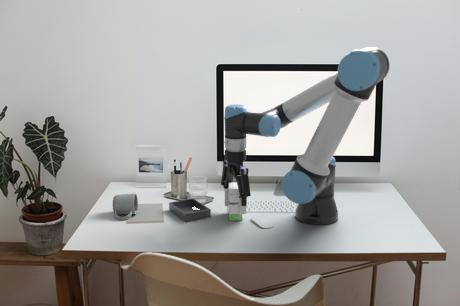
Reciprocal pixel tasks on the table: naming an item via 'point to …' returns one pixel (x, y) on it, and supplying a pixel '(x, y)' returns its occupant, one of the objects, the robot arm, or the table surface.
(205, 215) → the tray
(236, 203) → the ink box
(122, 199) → the ceramic mug
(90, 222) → the table surface
